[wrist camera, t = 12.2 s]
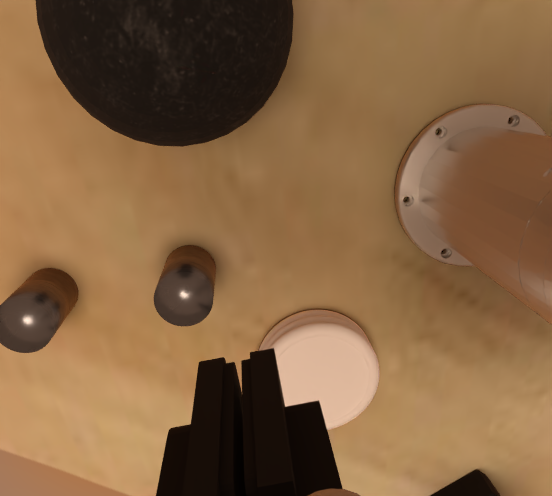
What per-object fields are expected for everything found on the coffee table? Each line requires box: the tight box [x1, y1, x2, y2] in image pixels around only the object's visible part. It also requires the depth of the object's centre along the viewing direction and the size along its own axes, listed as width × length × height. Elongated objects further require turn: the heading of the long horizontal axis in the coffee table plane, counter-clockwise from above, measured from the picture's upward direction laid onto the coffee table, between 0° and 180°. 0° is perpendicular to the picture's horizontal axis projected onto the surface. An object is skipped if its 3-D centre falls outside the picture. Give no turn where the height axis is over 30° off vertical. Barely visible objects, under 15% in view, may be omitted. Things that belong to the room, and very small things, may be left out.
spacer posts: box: [0, 245, 216, 353], centre depth 41 cm, size 17×22×6 cm
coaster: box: [259, 310, 379, 430], centre depth 43 cm, size 10×10×4 cm
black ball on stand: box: [36, 0, 293, 146], centre depth 28 cm, size 13×13×15 cm
